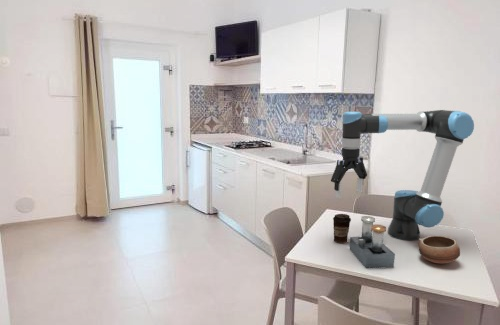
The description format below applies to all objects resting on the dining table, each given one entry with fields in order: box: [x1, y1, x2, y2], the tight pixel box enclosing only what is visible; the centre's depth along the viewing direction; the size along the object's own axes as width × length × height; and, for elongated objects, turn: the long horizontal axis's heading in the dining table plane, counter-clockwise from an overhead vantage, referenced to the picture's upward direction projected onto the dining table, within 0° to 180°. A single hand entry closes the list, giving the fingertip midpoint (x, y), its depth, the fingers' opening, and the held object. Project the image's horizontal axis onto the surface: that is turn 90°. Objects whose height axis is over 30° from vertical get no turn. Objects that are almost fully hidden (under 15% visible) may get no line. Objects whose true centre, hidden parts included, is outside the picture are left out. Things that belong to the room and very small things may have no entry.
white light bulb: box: [360, 215, 376, 242], centre depth 168 cm, size 6×6×10 cm
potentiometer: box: [358, 239, 365, 247], centre depth 163 cm, size 3×3×3 cm
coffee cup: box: [332, 213, 352, 244], centre depth 182 cm, size 9×8×13 cm
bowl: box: [417, 235, 461, 264], centre depth 162 cm, size 16×16×10 cm
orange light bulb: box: [371, 224, 387, 252], centre depth 158 cm, size 6×6×10 cm
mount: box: [349, 236, 396, 269], centre depth 165 cm, size 12×19×6 cm, turn 5°
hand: (348, 195), depth 167 cm, fingers open, 13 cm apart
